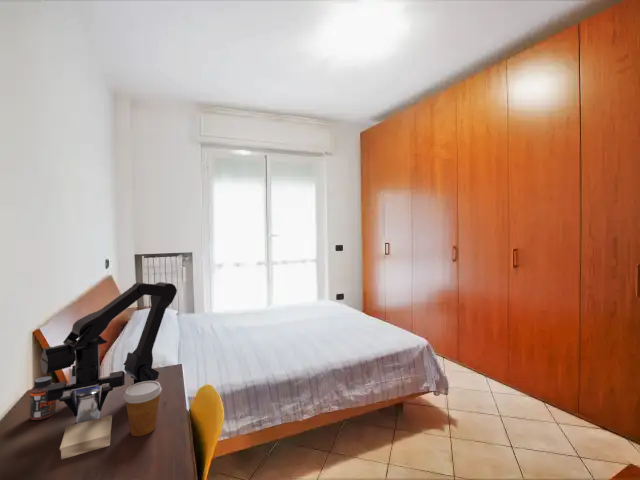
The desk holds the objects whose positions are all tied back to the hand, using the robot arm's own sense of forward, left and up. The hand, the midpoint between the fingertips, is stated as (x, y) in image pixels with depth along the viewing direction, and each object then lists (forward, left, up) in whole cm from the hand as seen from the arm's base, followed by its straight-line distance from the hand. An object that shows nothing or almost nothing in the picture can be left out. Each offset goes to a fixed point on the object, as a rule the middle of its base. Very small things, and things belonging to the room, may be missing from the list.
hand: (88, 413), depth 95 cm
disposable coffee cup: (-14, +14, -2) cm, 20 cm away
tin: (0, 0, -2) cm, 2 cm away
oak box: (-1, +12, -2) cm, 12 cm away
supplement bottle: (+12, -10, -2) cm, 16 cm away
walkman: (+2, -14, -2) cm, 14 cm away
